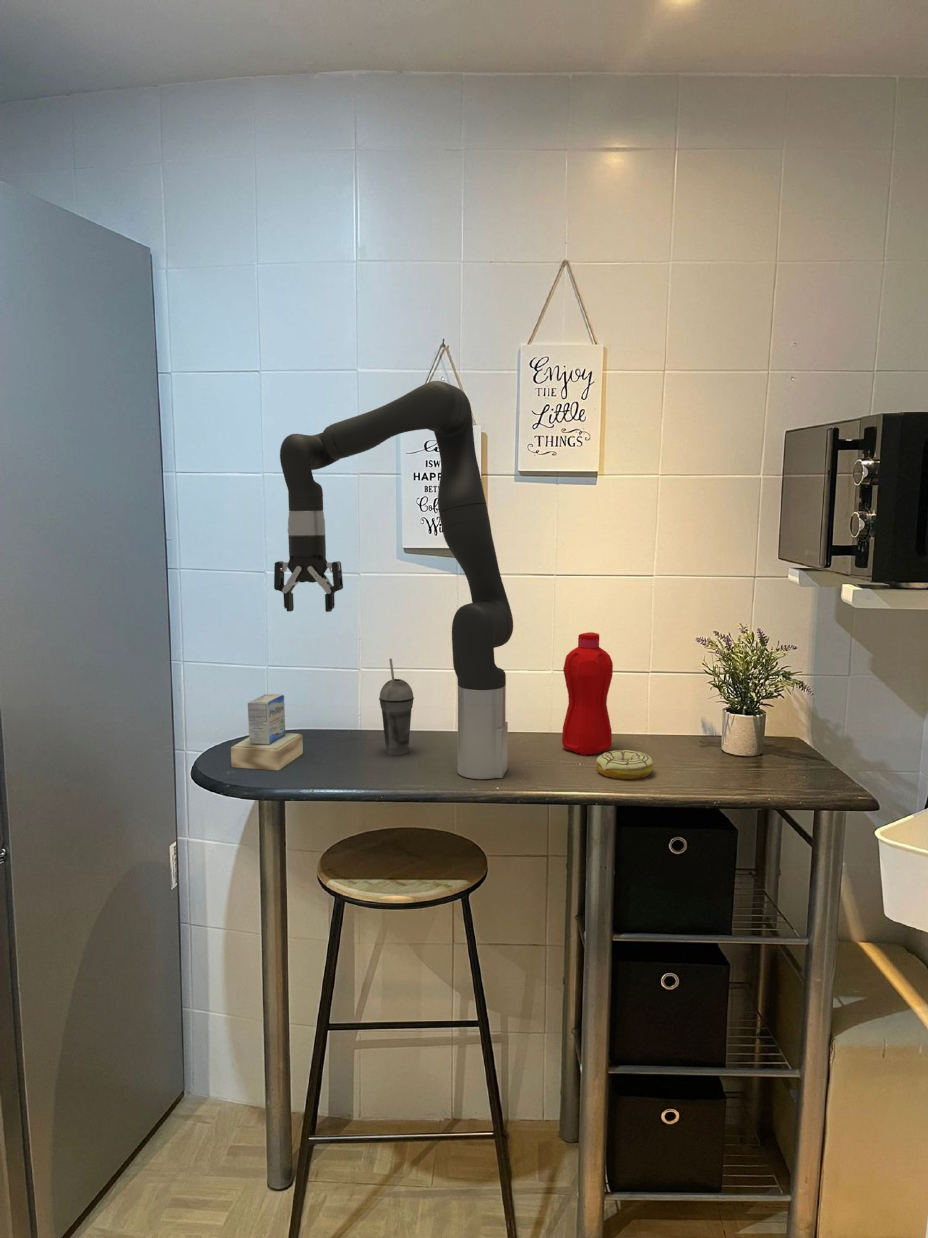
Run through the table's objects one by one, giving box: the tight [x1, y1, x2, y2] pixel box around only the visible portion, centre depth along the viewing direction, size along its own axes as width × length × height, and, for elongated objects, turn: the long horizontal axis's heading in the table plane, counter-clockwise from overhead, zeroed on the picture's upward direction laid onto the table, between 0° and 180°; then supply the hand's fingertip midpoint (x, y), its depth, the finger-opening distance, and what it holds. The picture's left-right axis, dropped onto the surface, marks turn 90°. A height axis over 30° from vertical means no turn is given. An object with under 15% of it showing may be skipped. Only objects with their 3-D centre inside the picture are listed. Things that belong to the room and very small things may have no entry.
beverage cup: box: [378, 658, 415, 756], centre depth 182 cm, size 7×7×20 cm
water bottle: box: [561, 631, 614, 756], centre depth 184 cm, size 9×11×25 cm
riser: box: [230, 732, 304, 771], centre depth 177 cm, size 10×12×4 cm
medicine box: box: [247, 693, 286, 745], centre depth 176 cm, size 8×4×9 cm, turn 167°
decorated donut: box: [596, 749, 654, 780], centre depth 169 cm, size 10×11×4 cm
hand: (309, 611), depth 182 cm, fingers open, 8 cm apart
